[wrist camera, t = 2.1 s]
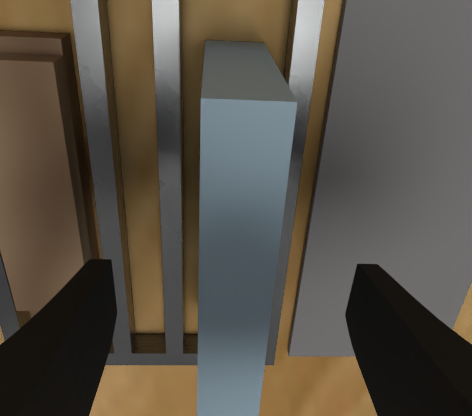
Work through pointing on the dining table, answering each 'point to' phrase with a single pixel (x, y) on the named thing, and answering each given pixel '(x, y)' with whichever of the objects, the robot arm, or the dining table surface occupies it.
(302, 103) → the metal rack
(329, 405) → the dining table surface
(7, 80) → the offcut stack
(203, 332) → the blue-grey rectangular block
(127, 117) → the dining table surface
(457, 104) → the charcoal mat
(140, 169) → the dining table surface
